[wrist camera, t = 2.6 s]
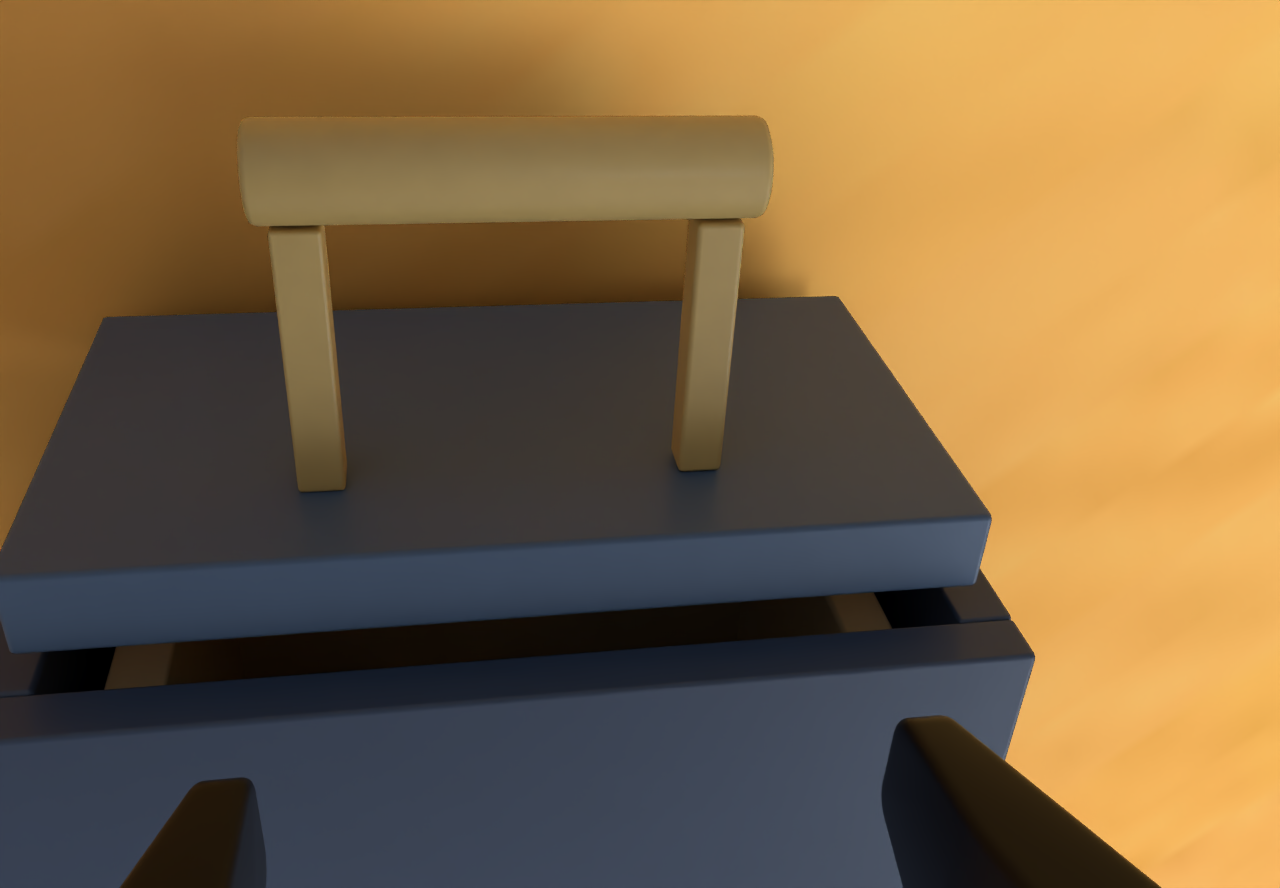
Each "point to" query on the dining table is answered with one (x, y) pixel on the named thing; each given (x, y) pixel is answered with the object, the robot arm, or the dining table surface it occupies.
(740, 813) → the cabinet
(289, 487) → the drawer
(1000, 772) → the robot arm
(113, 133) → the dining table surface
